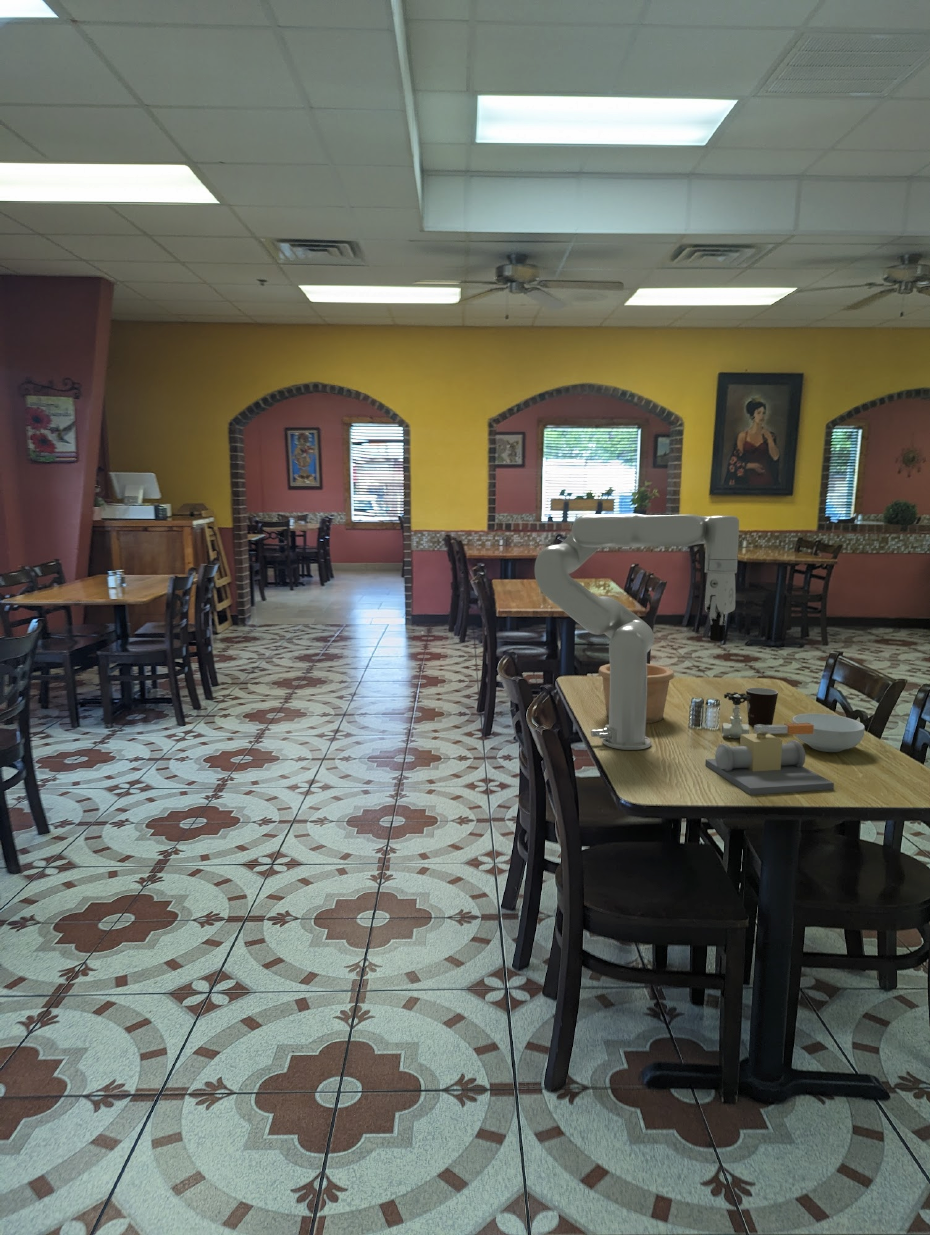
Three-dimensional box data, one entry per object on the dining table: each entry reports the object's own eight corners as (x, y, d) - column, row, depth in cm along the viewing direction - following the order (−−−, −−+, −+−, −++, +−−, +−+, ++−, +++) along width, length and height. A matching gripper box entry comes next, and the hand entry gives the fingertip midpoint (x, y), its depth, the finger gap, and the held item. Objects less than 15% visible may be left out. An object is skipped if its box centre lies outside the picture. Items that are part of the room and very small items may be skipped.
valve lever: (758, 735, 177) (758, 727, 176) (752, 732, 180) (752, 723, 179) (814, 734, 178) (814, 725, 178) (807, 730, 181) (807, 722, 181)
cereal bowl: (792, 753, 194) (794, 726, 193) (789, 736, 210) (790, 710, 209) (867, 761, 188) (869, 733, 188) (858, 742, 204) (860, 716, 203)
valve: (749, 742, 204) (752, 698, 202) (723, 740, 205) (725, 697, 203) (745, 735, 210) (748, 692, 208) (720, 734, 211) (722, 691, 210)
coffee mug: (773, 730, 215) (775, 695, 213) (741, 726, 219) (743, 692, 218) (780, 721, 224) (782, 688, 223) (750, 717, 229) (751, 684, 228)
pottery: (594, 706, 241) (596, 661, 240) (666, 708, 239) (667, 663, 238) (600, 725, 220) (601, 676, 218) (678, 727, 218) (680, 677, 216)
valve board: (749, 794, 165) (752, 753, 164) (705, 765, 185) (706, 727, 183) (833, 789, 169) (836, 748, 167) (780, 760, 188) (783, 724, 187)
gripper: (727, 568, 179) (723, 646, 181) (745, 565, 191) (741, 638, 194) (695, 567, 183) (692, 643, 186) (714, 564, 195) (711, 635, 198)
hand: (717, 640), depth 190 cm, fingers closed
